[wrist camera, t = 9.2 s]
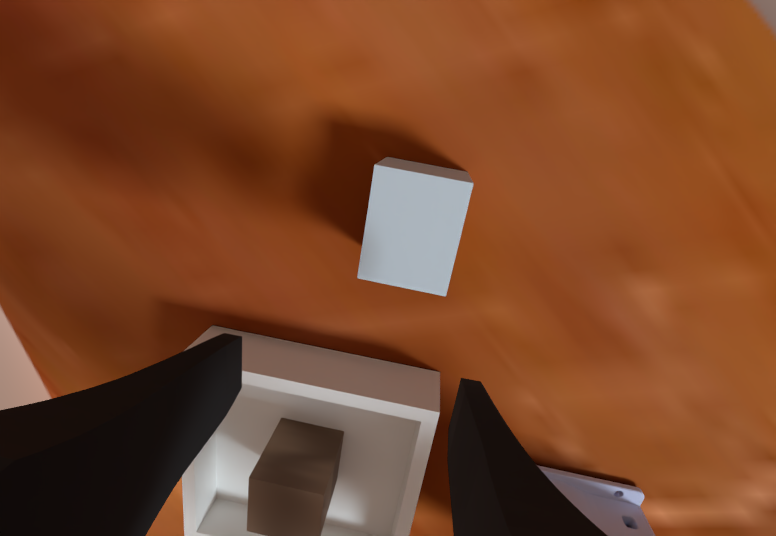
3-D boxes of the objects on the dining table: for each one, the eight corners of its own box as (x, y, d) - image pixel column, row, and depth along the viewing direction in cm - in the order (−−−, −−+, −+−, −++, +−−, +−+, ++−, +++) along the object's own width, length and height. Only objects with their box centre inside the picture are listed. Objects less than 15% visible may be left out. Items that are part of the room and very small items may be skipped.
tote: (440, 372, 23) (439, 412, 20) (400, 535, 28) (395, 589, 25) (212, 325, 24) (176, 356, 21) (213, 491, 29) (184, 537, 26)
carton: (467, 171, 19) (473, 183, 16) (444, 265, 21) (445, 296, 17) (387, 156, 20) (374, 164, 16) (372, 250, 21) (357, 278, 18)
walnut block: (344, 431, 24) (323, 495, 20) (337, 479, 26) (317, 548, 22) (281, 417, 25) (248, 477, 20) (277, 465, 26) (246, 531, 22)
